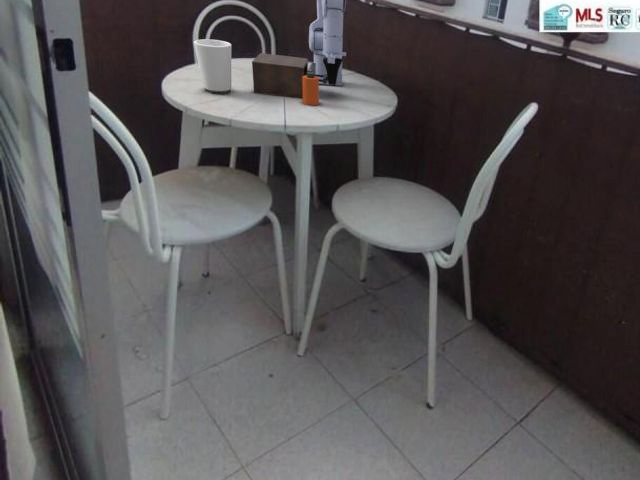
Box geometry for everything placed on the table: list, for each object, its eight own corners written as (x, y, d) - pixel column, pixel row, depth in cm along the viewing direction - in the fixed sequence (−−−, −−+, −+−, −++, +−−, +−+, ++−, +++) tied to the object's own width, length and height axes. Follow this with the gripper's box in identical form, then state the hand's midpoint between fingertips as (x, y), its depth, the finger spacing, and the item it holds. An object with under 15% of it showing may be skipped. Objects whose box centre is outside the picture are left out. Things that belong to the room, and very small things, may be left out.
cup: (193, 91, 146) (186, 42, 138) (210, 84, 154) (205, 37, 146) (225, 97, 145) (220, 48, 137) (241, 90, 153) (237, 43, 145)
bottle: (321, 103, 152) (321, 73, 147) (313, 106, 149) (313, 75, 144) (307, 100, 153) (307, 70, 148) (299, 103, 150) (299, 72, 145)
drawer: (329, 87, 165) (329, 64, 161) (326, 96, 155) (326, 73, 151) (273, 81, 163) (271, 57, 159) (266, 90, 153) (265, 65, 149)
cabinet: (308, 87, 165) (307, 58, 160) (303, 98, 154) (302, 67, 149) (262, 82, 163) (260, 52, 158) (254, 92, 152) (251, 61, 147)
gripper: (345, 41, 146) (344, 91, 154) (347, 33, 157) (346, 80, 165) (320, 38, 145) (320, 88, 153) (324, 30, 156) (324, 77, 164)
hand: (332, 84), depth 159 cm, fingers closed, pressing on drawer
